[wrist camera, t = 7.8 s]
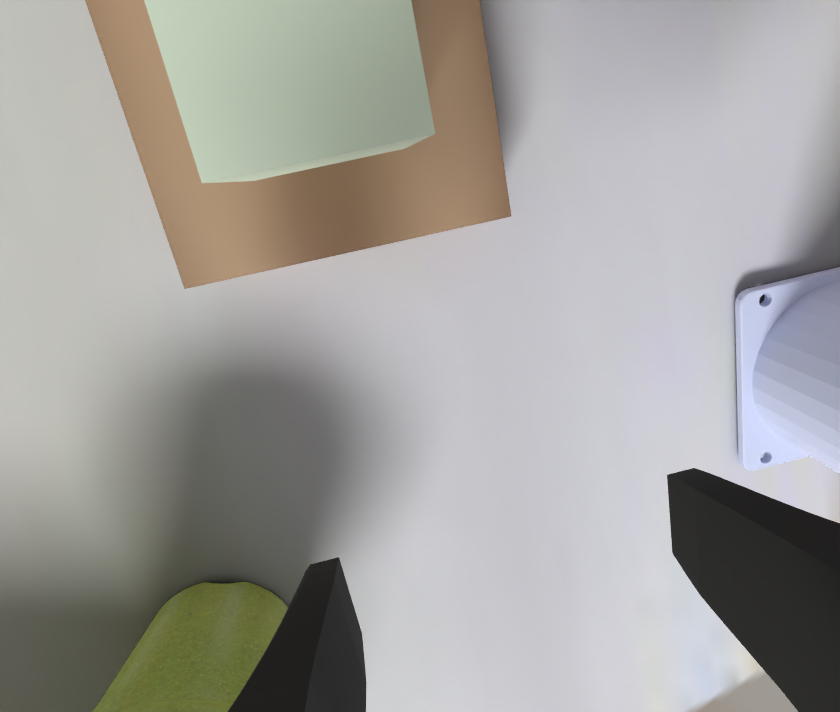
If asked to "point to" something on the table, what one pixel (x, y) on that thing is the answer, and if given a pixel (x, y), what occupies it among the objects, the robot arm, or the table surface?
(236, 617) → the plant pot
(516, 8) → the table surface
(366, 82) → the sage block
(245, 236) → the walnut slab
